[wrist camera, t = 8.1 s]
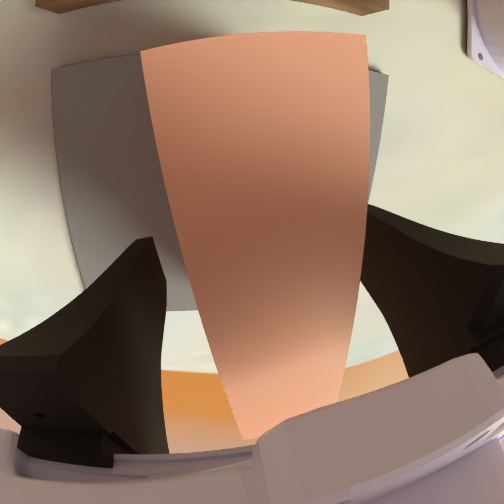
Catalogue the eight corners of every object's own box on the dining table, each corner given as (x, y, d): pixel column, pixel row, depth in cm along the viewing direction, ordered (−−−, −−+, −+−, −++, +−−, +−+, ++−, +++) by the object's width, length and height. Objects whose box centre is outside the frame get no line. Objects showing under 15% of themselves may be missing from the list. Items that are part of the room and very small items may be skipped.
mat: (383, 74, 12) (388, 75, 12) (339, 295, 20) (342, 300, 19) (55, 69, 10) (51, 69, 10) (94, 306, 17) (92, 311, 17)
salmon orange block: (262, 60, 11) (365, 35, 4) (281, 282, 18) (332, 420, 10) (181, 71, 11) (140, 51, 3) (221, 293, 18) (243, 439, 10)
